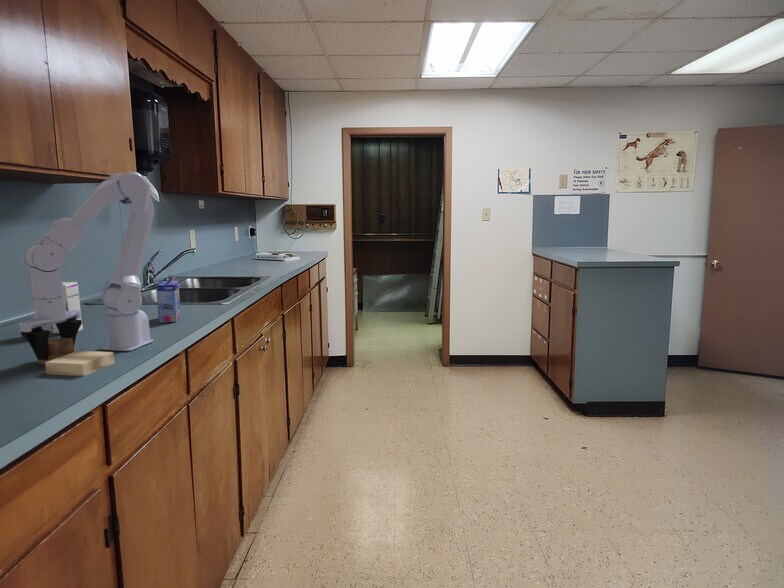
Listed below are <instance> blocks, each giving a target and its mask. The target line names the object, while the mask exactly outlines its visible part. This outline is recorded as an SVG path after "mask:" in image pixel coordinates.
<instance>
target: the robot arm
mask: <svg viewBox="0 0 784 588" xmlns="http://www.w3.org/2000/svg"><path fill="white" fill-rule="evenodd" d="M150 191H151V185H150V183H148V181H147V180H146V179H145V178H144V176H143V175H142V174H140V173H139V172H136V171H133V170H131V171H126V172H121V173H120V172H116V173H111V174H110V175H109V176H108V177H107V178H106V180H104V181H102V182H101V183H100V184H98V186H97V187H96V188H95V190H93V192H92V193H91V195H89V196H88V198H86V200H84V202H83V203H82V204H81V206H80V207H79V208H78V209H77V210H76V211H75V213H74V214H72V216H71V217H62V218H60V219H59V220H54V221H53V222H52V223H51V225H52V226H53V227H51V229H49V231H48V232H46V234H45V235H44V236H43V237H38V239H37V240H36V242H37V243H38V244H35V245H32V246H31V247H29V248H28V249H27V251H26V253H25V254H26V255H25V257H23V258H24V262H25V263H26V265H27V266H28V267H29V269H30V282H31V290H32V291H31V292H32V297H33V306H34V312H35V313H34V314H35V315H34V316H33V318H31V319H28V320H25V321H22V322H19V323H18V326H19V332H20V336H22V337H23V338H24V339H25V340H26V342H27V343H28V344H29V346H30V348H31V349H32V351H33V352H34V356H35V357H36V359H37V361H38V360H47V359H48V339H50V338H49V337H50V334H51V330H48V329H47V330H45V329H44V328H45V327H48V326H49V327H50V326H51V325H53V324H56V326H57V328H58V330H59V333H60V334H59V336H60V338H73V346H74V347H75V344H76V343H75V342H76V339H77V335H78V332H79V331H78V330H79V328H80V326H81V324H82V325H83V320H76V319H78V318H82V315H81V316H80V310H81V309H80V310H71V311H66V308H65V300H64V291H63V283H62V282H63V276H62V271H61V266H64V265H63V264H64V262H65V256H67V255H68V254H69V253H70V252H71V251H72V249H73V248H74V247H75V246H77V244H78V243H79V242H80V241H81V239H82V238H84V237H85V235H86V232H85V231H86V230H85V227H86V226H87V225H88V224H89V223H90V222H91V221H92V220H93V219H94V218H95V217H96V216H97V215H98V214H99V213H100V212H101V211H102V210H103V209H104V208H106V207H107V206H108V204H110V203H114V202H120V203H121V204H122V205H123V206H124V207H125V209H126V210H127V211H128V212H129V217H128V222H127V225H126V230H125V234H124V237H123V241H122V245H121V249H120V254H119V259H118V261H117V266H116V270H115V273H114V275H113V276H111V278H110V279H109V282H108V285H107V287H106V288H105V289H104V290H103V292H102V293H101V301H102V304H103V305H104V307H106V308H107V311H106V318H107V319H106V321H107V328H108V339H109V345H106V346H104V347H101V351H118V352H123V351H124V352H132V351H134V350H136V349H138V348H141V347H143V346H146V345H148V344H150V343H153V342H154V339H151V334H150V333H151V332H150V320H149V316H148V314H146V312H145V311H143V310H141V309H140V308H141V306H142V305H143V298H142V294H141V293H142V292H141V291H142V287H143V286H142V283H141V281H140V274H141V269H142V265H143V262H144V258H145V254H146V253H145V252H146V249H147V245H148V241H149V237H150V232H151V230H152V229H151V228H152V224H153V220H154V217H155V207H154V204H153V203H154V202H153V200H152V195H151V192H150Z"/></svg>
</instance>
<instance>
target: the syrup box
mask: <svg viewBox="0 0 784 588" xmlns="http://www.w3.org/2000/svg"><path fill="white" fill-rule="evenodd" d="M62 283H63V291H64V300H65V308H66V311H71V310H80V316H81V318H78V319H76V320H82V311H81V303H80V293H79V286H78V281H62ZM82 321H83V320H82ZM50 328H51V330H50V331H51V334H52V335H60V333H59V330H58V328H57V326H56V324H53V325H50ZM82 330H84V327H83V323H82V324H81V326H80V328H79V330H78V332H81V331H82Z"/></svg>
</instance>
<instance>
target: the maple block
mask: <svg viewBox="0 0 784 588" xmlns="http://www.w3.org/2000/svg"><path fill="white" fill-rule="evenodd" d="M114 364H115V355H114V351H98V350H97V351H95V350H94V351H93V350H77V351H74V352H73V353H70V354H67V355H64V356H62V357H59V358H56V359H53V360H50V361H47V362H45V364H44V366H45V371H46V375H57V376H59V375H60V376H73V377H74V376H77V377H86V376H88V375H90V374H92V373H95V372H97V371H100V370H102V369H104V368H107V367H109V366H111V365H114Z"/></svg>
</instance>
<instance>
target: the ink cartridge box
mask: <svg viewBox="0 0 784 588" xmlns="http://www.w3.org/2000/svg"><path fill="white" fill-rule="evenodd" d="M173 277H174V274H172V275H171V276H170V277H169V279H168V280H164V281H163V280H162V281H160V282H159V283H158V284H157V285H156V299H157V301H156V302H157V316H158V324H159V323H161V324H164V323H165V322H175V323H177V322H178V320H179V319H180V318H181V306H180V305H181V303H180V284H179V283H180V282H179V280H172V278H173ZM179 317H180V318H179ZM178 318H179V319H178ZM176 321H177V322H176ZM165 324H166V323H165Z"/></svg>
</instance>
